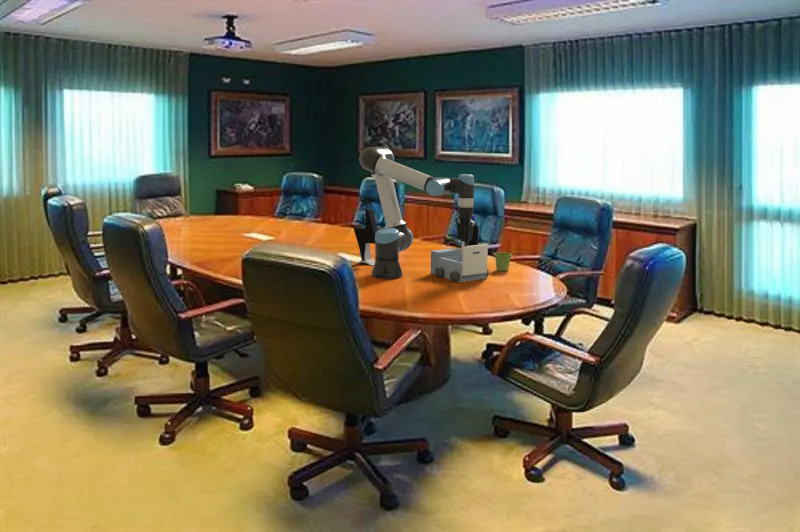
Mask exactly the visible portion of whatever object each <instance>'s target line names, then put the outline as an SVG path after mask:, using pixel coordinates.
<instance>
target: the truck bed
mask: <svg viewBox="0 0 800 532" xmlns="http://www.w3.org/2000/svg"><path fill="white" fill-rule="evenodd" d="M461 253H462V248H457V247H454V248H445V249H444V248H443V249H434V250H430V275H432V274H433V275H432V276H435V277H436V278H437V277H439V278H443V277H445V278H444V279H446V278H448V279H447V280H450V281H451V282H452V281H453V282H452V283H455V282H456V283H460V282H461V283H465V282H464V281H468V282H473V281H472V280H475V281H480V280H479V279H482V280H486V279H487V278H488V277H489V274H490V272H489V269H488V268H487V274H486V275H479V276H471V277H464V278H462V254H461ZM457 281H459V282H457Z"/></svg>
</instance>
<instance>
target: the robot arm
mask: <svg viewBox="0 0 800 532" xmlns="http://www.w3.org/2000/svg"><path fill="white" fill-rule="evenodd" d="M358 161H359V164H360V165H361V167H362V168H363V169H364V170H366V171H369V172H370V176H371V177H372V178H374V180H375V183H376V187H377V193H378V197H379V201H380V204H381V208H382V212H383V217H384V221H385V226H384V227H383V228H380V229H378V231H377V232H376V234H375V244H374V247H375V248H374V250H375V251H374V253H375V254H374V262H375V263H374V265H373V267H372V270H371V277H372V276H373V277H372V278H374V277H376V278H375V279H379V278H382V279H381V280H394V279H393V278H396V279H400V278H402V277H403V271H402V267H401V265H400V261H399V258H400V257H399V256H400V255H399V253H401V252H403V251H406V250H407V249H409V248H410V247H411V246H412V244H413V241H414V235H413V233H412V231H411V229H409V228H408V226H407V222H406V221H404V220H403V218H402V213H401V209H400V205H399V200H398V197H397V196H398V195H397V192H396V188H395V184H394V181H393V179H394V180H397V181H400V182H402V183H405V184H407V185H409V186H411V187H415V188H417V189H419V190H422V191H424V192H427V194H428V195H430V196H432V197H439V196H442V195H445V194H452V195H453V194H454V195H455V194H456V195H457V194H458V195H457V197H458V198H457V206H458V207H457V214H458V219H457V218H456V219H455V220H454V221H455V224H456V231H457V238H458V240H460V247H461V249H462V253H461V254H463V247H464V246H468V242H469V241H471V240H472V236H473V230H474V226H475V224H476V223H477V222H476V221H475V222H473V220H472V215H474V203H475V202H474V200H475V199H474V198H475V197H474V196H475V177H474V175H473V174H467V173H466V174H465V173H461V174H459V175H458V177H452V178H451V177H433V176H431V175H428V174H426V173H423V172H422V171H418V170H416V169H413V168H411V167H409V166H407V165H403V164H401V163H399V162H396V161H395V156H394V154H393V152H392V150H390V149H389V148H388V147H384V146H373V147H372V146H371V147H370V146H369V147H366V148H364V149H363V150H362V151H361V152H360V154H359V160H358ZM399 277H400V278H399Z"/></svg>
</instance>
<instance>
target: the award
mask: <svg viewBox="0 0 800 532" xmlns="http://www.w3.org/2000/svg"><path fill="white" fill-rule="evenodd" d="M364 214H365V219H364V226H356V227H355V226H354V227H353V232H354V235H355V239H356V242H357V245H358V247H359V248H358V249H359V252H358V253H359V255H360V259H361V260H360V261H358V262H357V264H358V265H359V264H361V263H365V264H366V265H369V266H371V265H373V266H374V263H375V260H373V259H372V258H371V256H372V253H371V249H370V246H371V245H370V244H372V245H373V244H374V245H375V234H376V232H377V231H378V230H379V228H378V225H377V221H376V217H375V213H374V210H373V208H366V209H365V213H364Z"/></svg>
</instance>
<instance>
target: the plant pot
mask: <svg viewBox="0 0 800 532" xmlns="http://www.w3.org/2000/svg"><path fill="white" fill-rule="evenodd" d="M493 255H494V258H495V267H496V268H495V269H496V271H498V270H499V271H498V272H508V271H509V268H510V263H511V258H512V256H513V254H512V253H509V252H494V253H493Z"/></svg>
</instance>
